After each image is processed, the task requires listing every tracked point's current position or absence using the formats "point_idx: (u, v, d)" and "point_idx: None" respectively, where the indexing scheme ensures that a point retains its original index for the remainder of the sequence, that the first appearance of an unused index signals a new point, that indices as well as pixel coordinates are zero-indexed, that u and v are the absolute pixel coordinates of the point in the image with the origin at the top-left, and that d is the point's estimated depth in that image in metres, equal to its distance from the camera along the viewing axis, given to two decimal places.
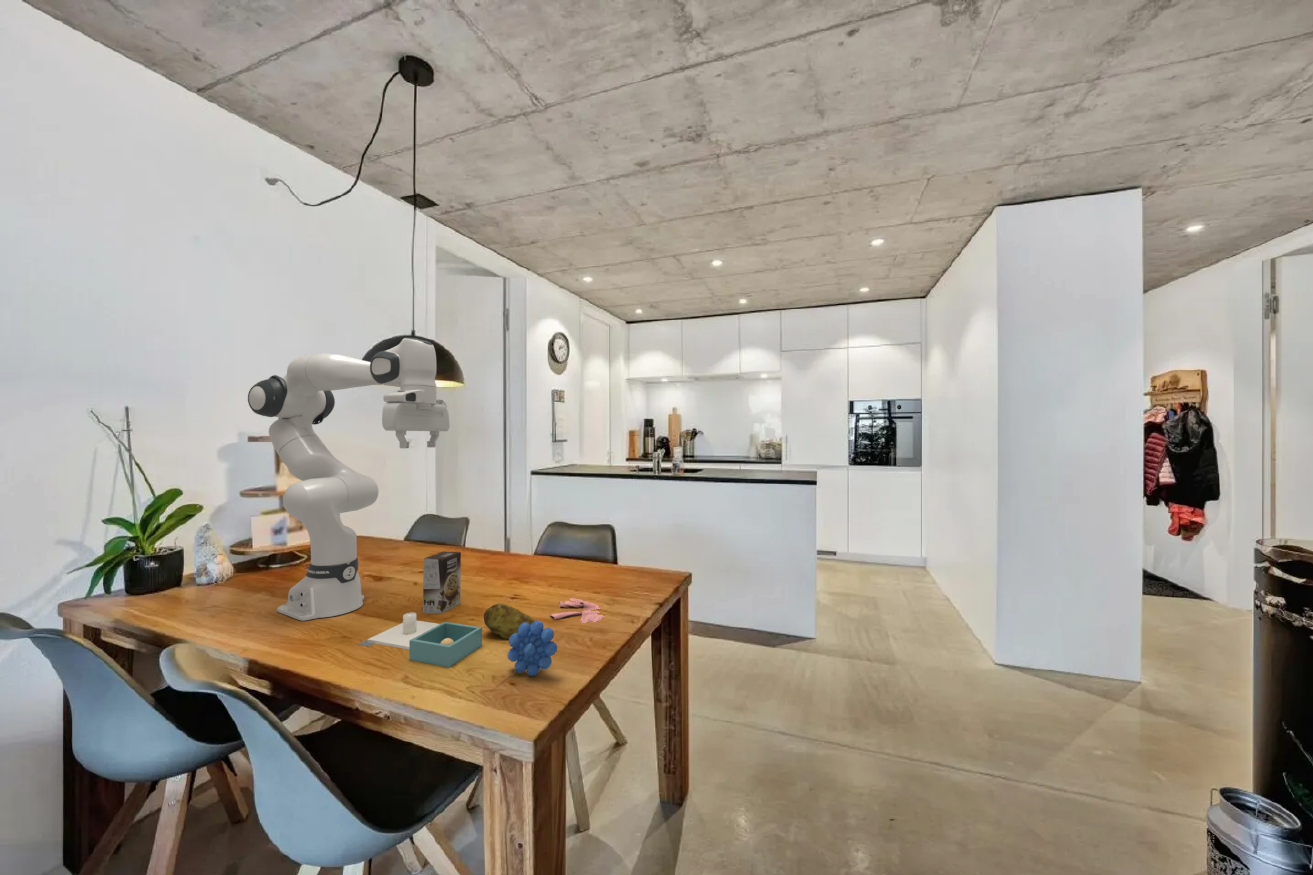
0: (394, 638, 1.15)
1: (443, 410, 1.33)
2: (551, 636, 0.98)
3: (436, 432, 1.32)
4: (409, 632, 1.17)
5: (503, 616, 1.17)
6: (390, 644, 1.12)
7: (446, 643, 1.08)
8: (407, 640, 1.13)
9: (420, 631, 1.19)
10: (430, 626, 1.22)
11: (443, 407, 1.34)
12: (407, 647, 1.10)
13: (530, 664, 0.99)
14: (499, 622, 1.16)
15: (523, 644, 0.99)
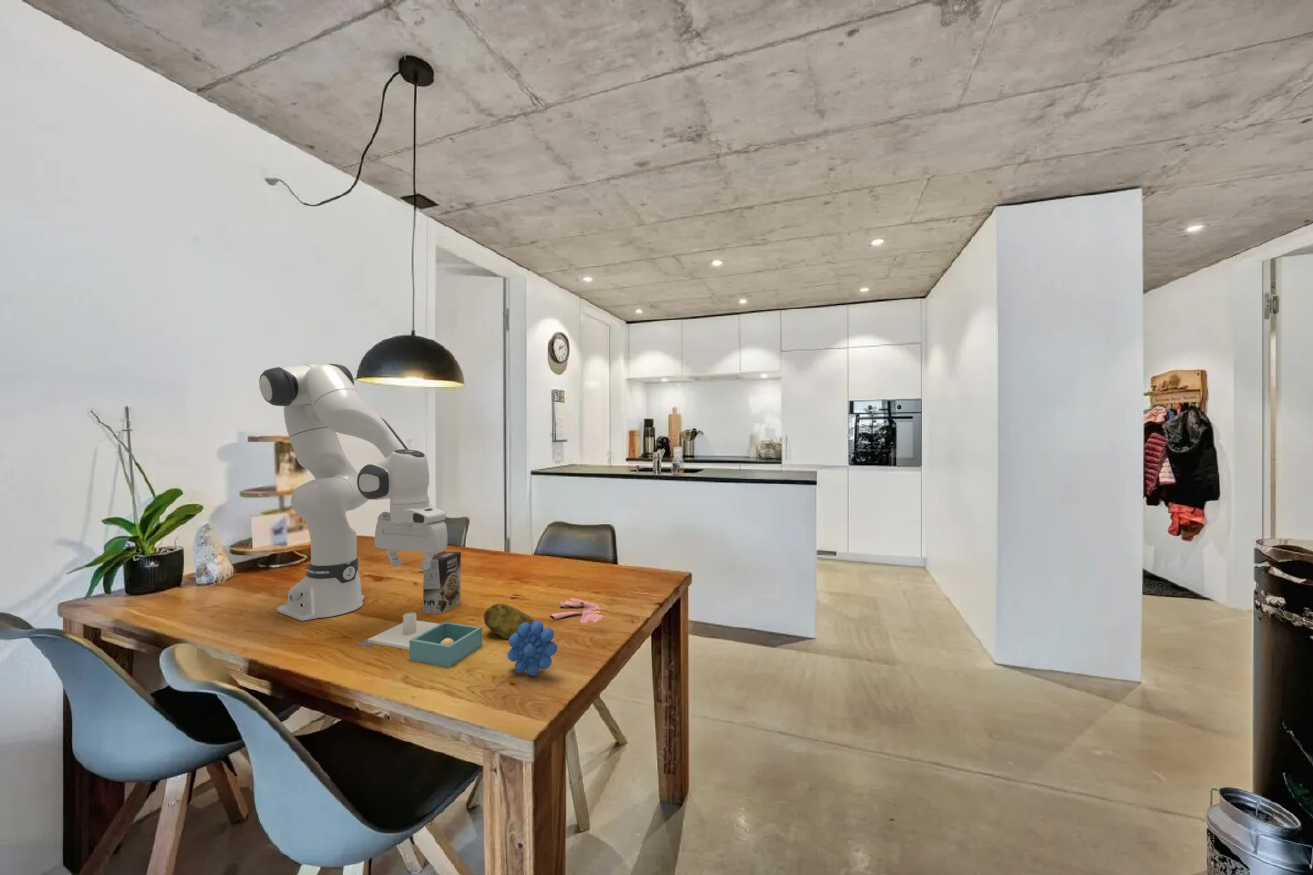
0: (394, 638, 1.15)
1: None
2: (551, 636, 0.98)
3: None
4: (409, 632, 1.17)
5: (503, 616, 1.17)
6: (390, 644, 1.12)
7: (446, 643, 1.08)
8: (407, 640, 1.13)
9: (420, 631, 1.19)
10: (430, 626, 1.22)
11: None
12: (407, 647, 1.10)
13: (530, 664, 0.99)
14: (499, 622, 1.16)
15: (523, 644, 0.99)
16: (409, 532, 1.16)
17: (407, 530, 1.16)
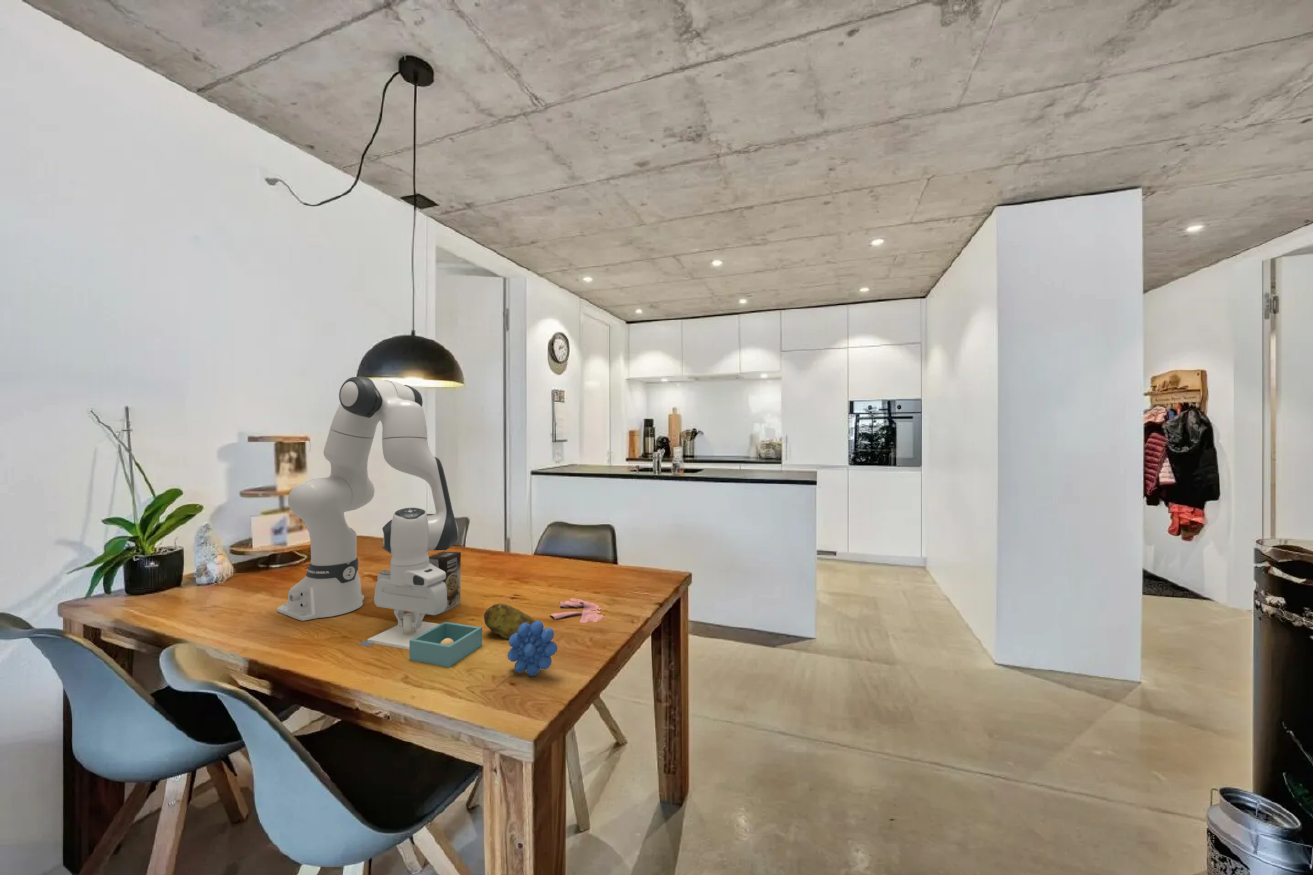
0: (394, 638, 1.15)
1: None
2: (551, 636, 0.98)
3: None
4: (409, 632, 1.17)
5: (503, 616, 1.17)
6: (390, 644, 1.12)
7: (446, 643, 1.08)
8: (407, 640, 1.13)
9: (420, 631, 1.19)
10: (430, 626, 1.22)
11: None
12: (407, 647, 1.10)
13: (530, 664, 0.99)
14: (499, 622, 1.16)
15: (523, 644, 0.99)
16: (409, 592, 1.16)
17: (407, 590, 1.16)
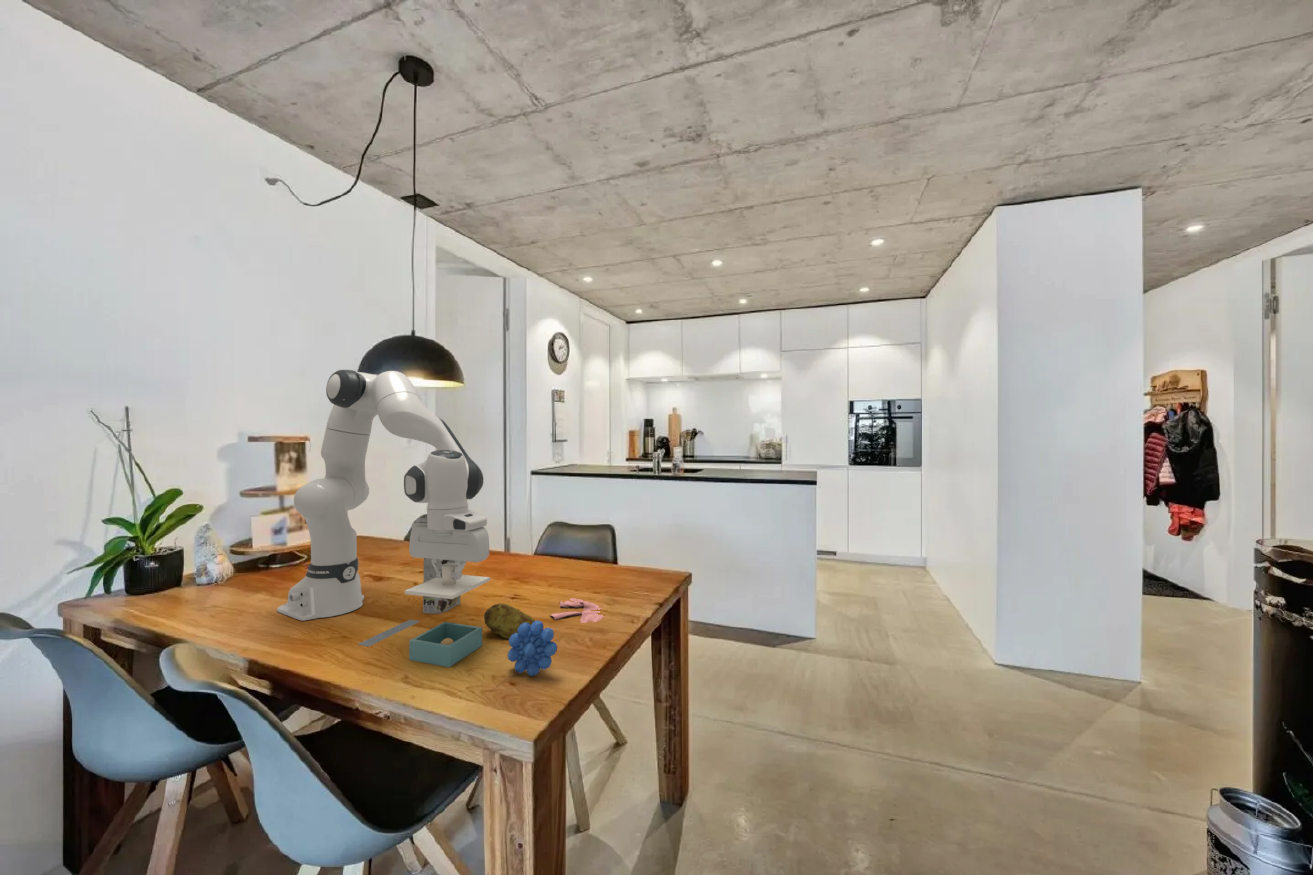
0: (433, 589, 1.05)
1: None
2: (551, 636, 0.98)
3: None
4: (449, 582, 1.08)
5: (503, 616, 1.17)
6: (430, 594, 1.03)
7: (446, 643, 1.08)
8: (448, 590, 1.04)
9: (460, 582, 1.10)
10: (470, 578, 1.13)
11: None
12: (450, 596, 1.01)
13: (530, 664, 0.99)
14: (499, 622, 1.16)
15: (523, 644, 0.99)
16: (448, 539, 1.07)
17: (446, 537, 1.07)
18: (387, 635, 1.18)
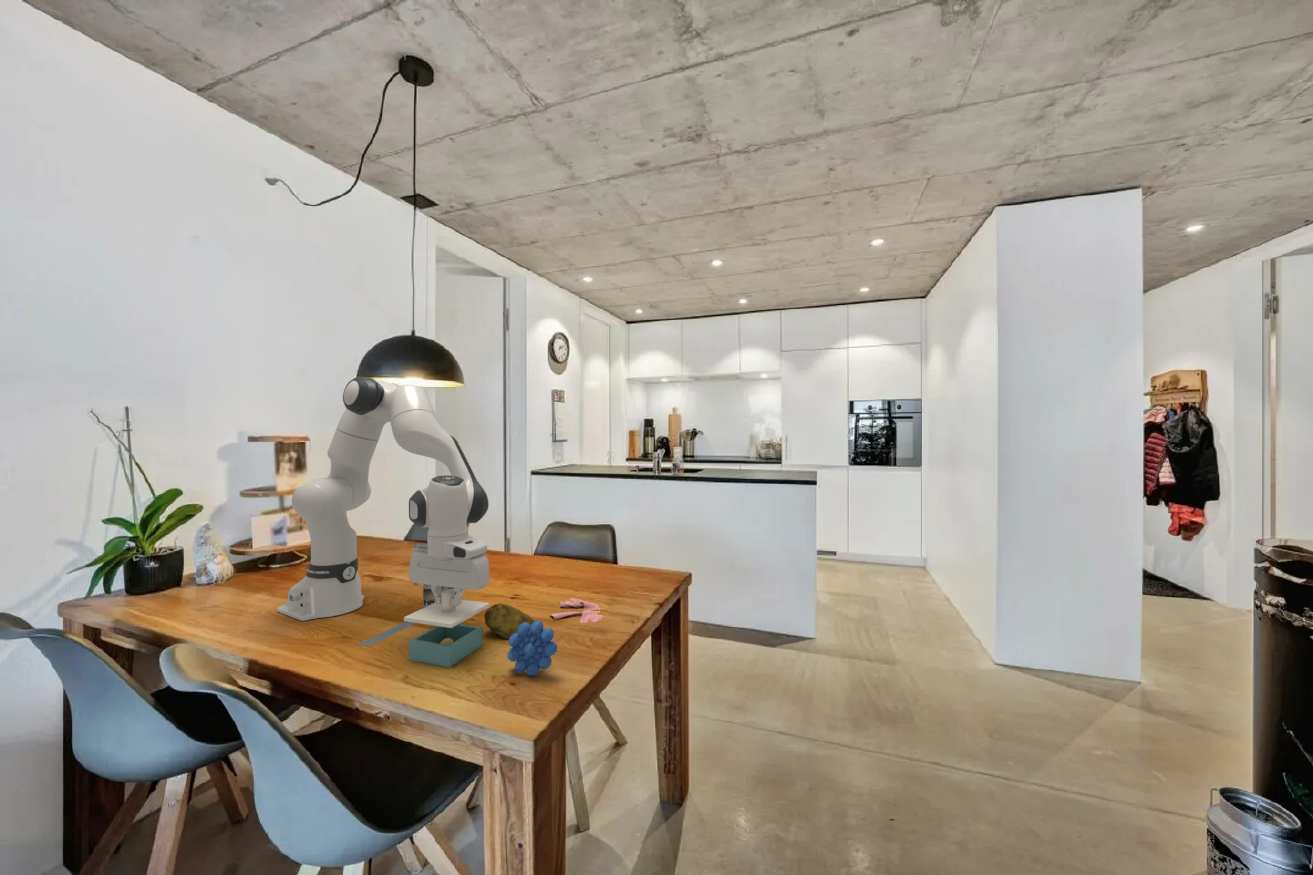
0: (432, 616, 1.05)
1: None
2: (551, 636, 0.98)
3: None
4: (448, 609, 1.08)
5: (503, 615, 1.17)
6: (430, 621, 1.02)
7: (446, 643, 1.08)
8: (447, 618, 1.04)
9: (459, 608, 1.10)
10: (469, 604, 1.12)
11: None
12: (449, 625, 1.01)
13: (530, 664, 0.99)
14: (499, 622, 1.16)
15: (523, 644, 0.99)
16: (447, 566, 1.07)
17: (446, 564, 1.07)
18: (387, 635, 1.18)
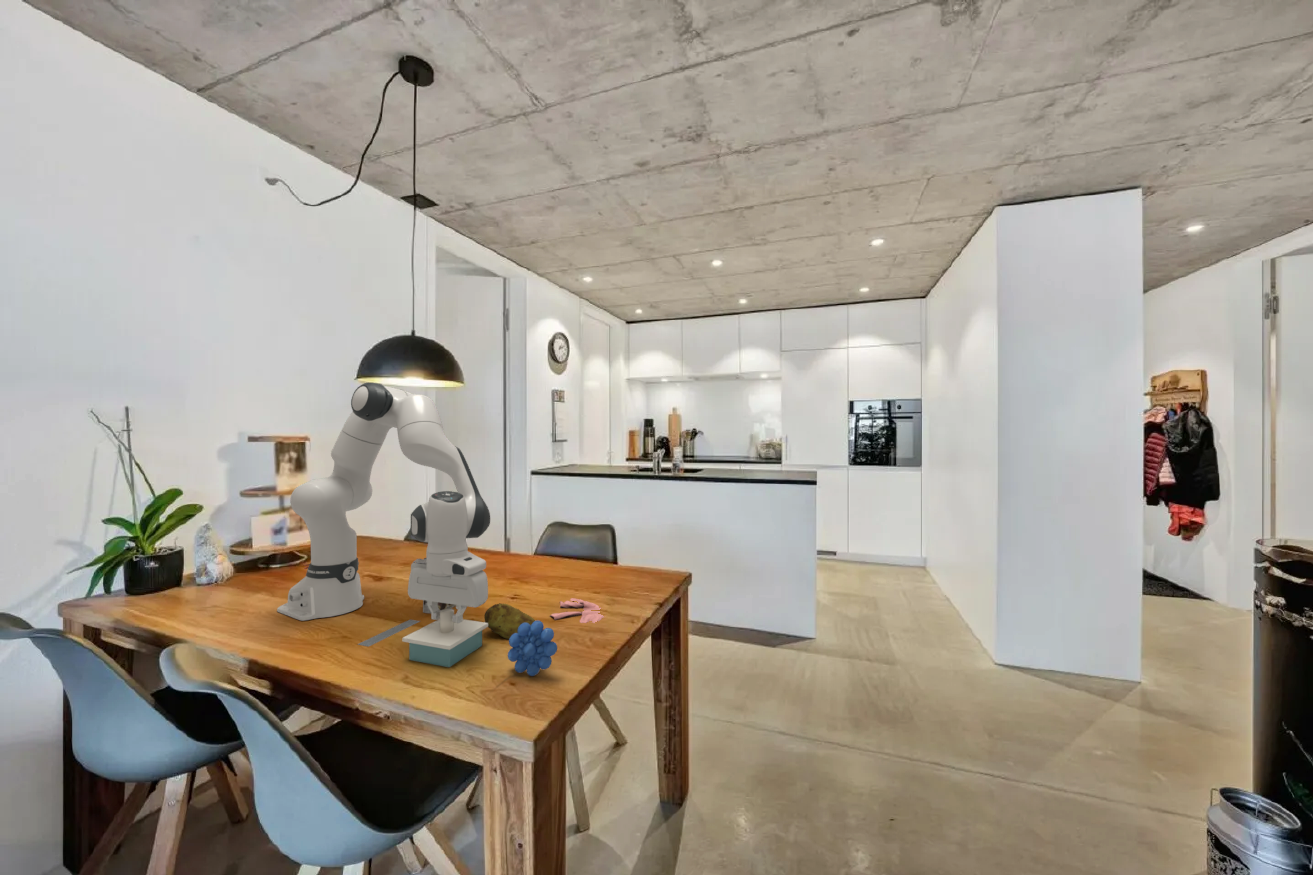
0: (431, 636, 1.05)
1: None
2: (551, 636, 0.98)
3: None
4: (447, 630, 1.07)
5: (503, 615, 1.17)
6: (428, 643, 1.02)
7: None
8: (446, 639, 1.04)
9: (458, 628, 1.09)
10: (468, 624, 1.12)
11: None
12: (447, 646, 1.01)
13: (530, 664, 0.99)
14: (499, 622, 1.16)
15: (523, 644, 0.99)
16: (446, 583, 1.07)
17: (444, 581, 1.07)
18: (387, 635, 1.18)
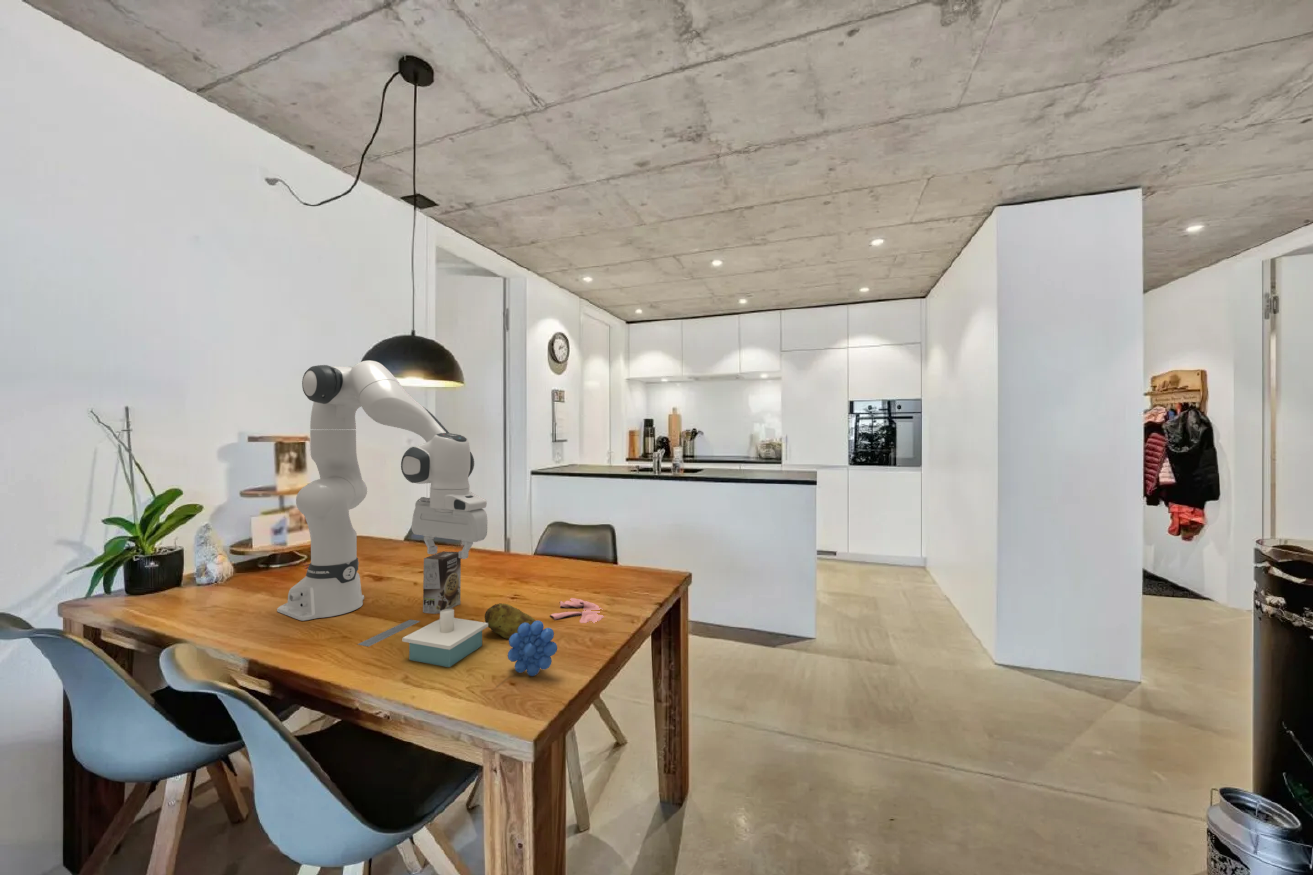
0: (431, 636, 1.05)
1: None
2: (551, 636, 0.98)
3: None
4: (447, 630, 1.07)
5: (504, 615, 1.17)
6: (428, 643, 1.02)
7: None
8: (446, 639, 1.04)
9: (458, 628, 1.09)
10: (468, 624, 1.12)
11: None
12: (447, 646, 1.01)
13: (530, 664, 0.99)
14: (499, 622, 1.16)
15: (523, 644, 0.99)
16: (448, 519, 1.12)
17: (446, 517, 1.12)
18: (387, 635, 1.18)
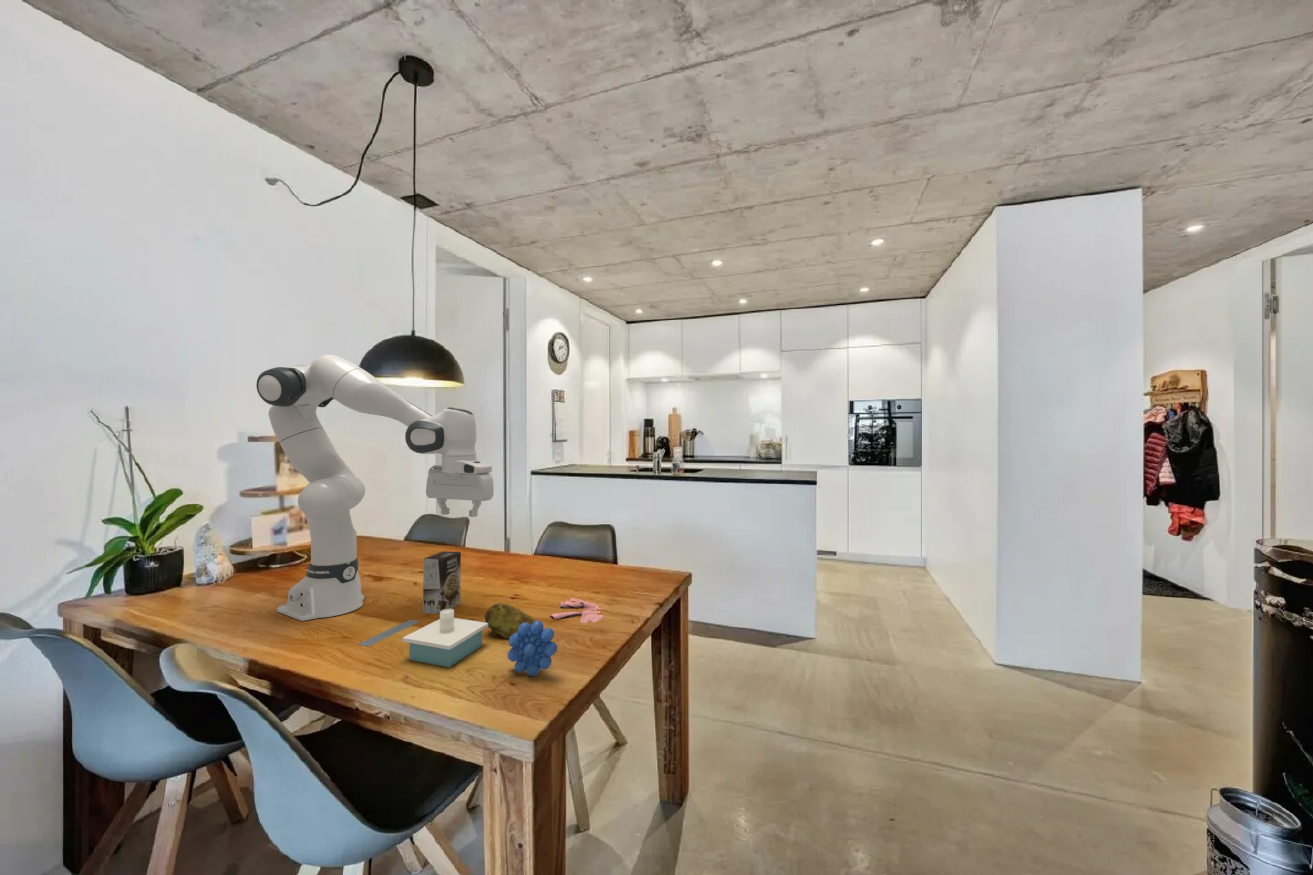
0: (431, 636, 1.05)
1: None
2: (551, 636, 0.98)
3: None
4: (447, 630, 1.07)
5: (504, 615, 1.17)
6: (428, 643, 1.02)
7: None
8: (446, 639, 1.04)
9: (458, 628, 1.09)
10: (468, 624, 1.12)
11: None
12: (447, 646, 1.01)
13: (530, 664, 0.99)
14: (500, 622, 1.16)
15: (523, 644, 0.99)
16: (459, 482, 1.27)
17: (457, 481, 1.28)
18: (387, 635, 1.18)
